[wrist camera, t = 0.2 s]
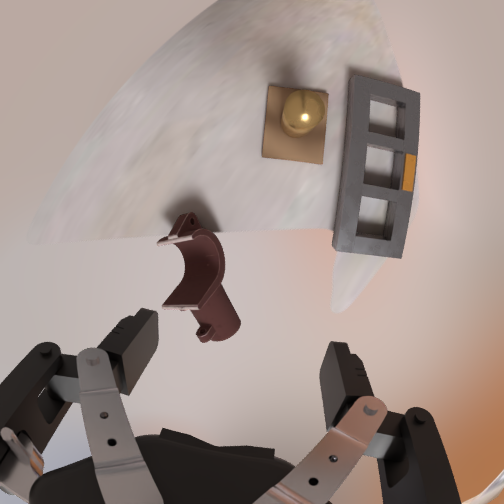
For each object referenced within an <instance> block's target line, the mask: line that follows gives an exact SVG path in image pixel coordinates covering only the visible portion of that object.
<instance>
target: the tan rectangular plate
mask: <svg viewBox="0 0 504 504" xmlns="http://www.w3.org/2000/svg"><path fill="white" fill-rule="evenodd" d="M298 90H301V89H293V88H285V87H276V86H269V90H268V100H267V110H266V121H265V131H264V141H263V151H262V157H264V158H274V159H283V160H291V161H299V162H307V163H314V164H323V154H324V144H325V133H326V121H327V108H328V94H327V93H321V92H315V91H312V92H314V93H316V94H317V95H319V96H320V98H321V99H322V100H323V102H324V105H325V115H324V117H323V119H322V121H321V122H320V123H319V124H318V125H316V126H315V127H314V128H313V129H312V130H311V131H310V132H309V133H308V134H307V135H306V136H304V137H302V138H292V137H289V136H288V135H286V134H285V133H284V132H283V130H282V128H281V118H282V114H283V110H284V106H285V102H286V99H287V98H288V96H289V95H290V94H292V93H293V92H295V91H298Z"/></svg>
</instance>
